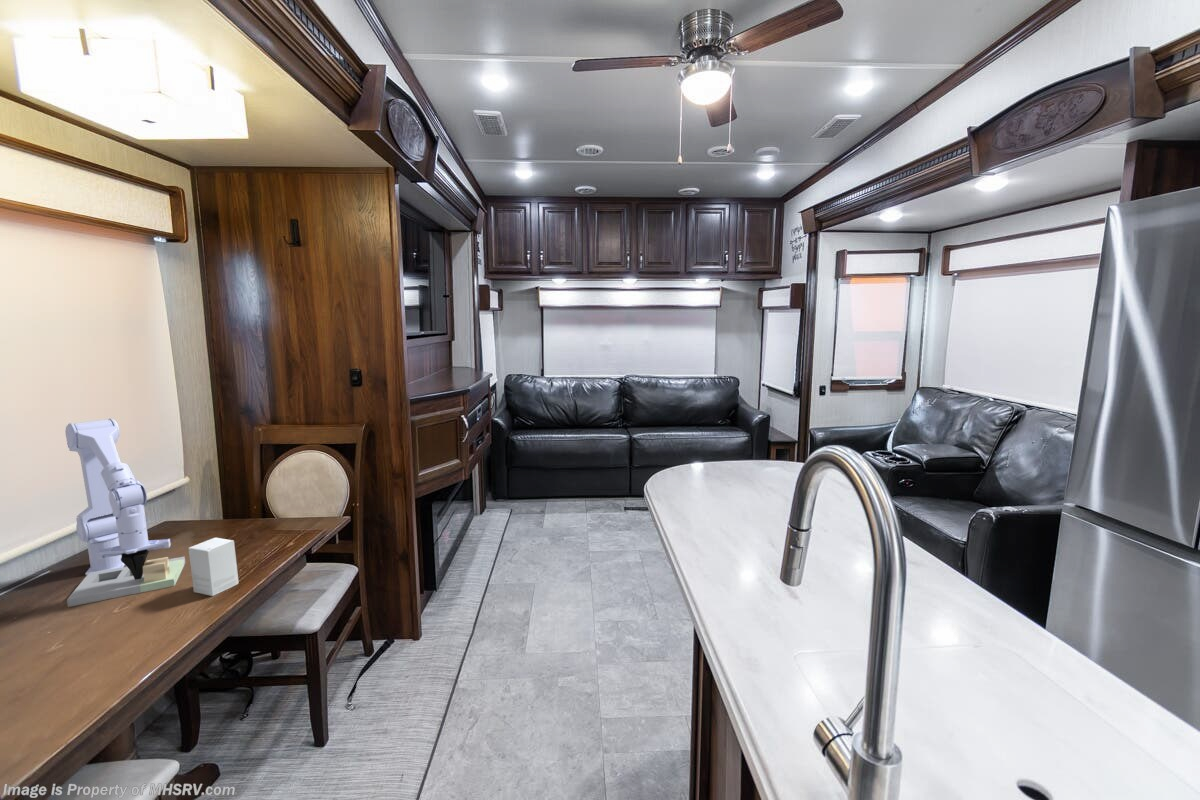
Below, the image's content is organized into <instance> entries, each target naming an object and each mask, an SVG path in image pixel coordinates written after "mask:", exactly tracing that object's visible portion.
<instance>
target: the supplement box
mask: <svg viewBox="0 0 1200 800" xmlns="http://www.w3.org/2000/svg"><path fill="white" fill-rule="evenodd" d="M188 555H189V562H190V563H189V564H190V570H191V571H190V572H191V578H192V586H193V593H197V594H202V595H205V596H210V597H214V596H216V595H218V594H220V593H223V592H224V591H226V590H228V589H231V588H233V587H235V586H237V585H239V574H238V565H237V556H236V548H235V540H233V539H226V538H220V537H213V538H210V539H207V540H204V541H203V542H200V543H198V544H194V545H193V546H189V547H188Z"/></svg>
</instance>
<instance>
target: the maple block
mask: <svg viewBox="0 0 1200 800" xmlns="http://www.w3.org/2000/svg"><path fill="white" fill-rule="evenodd" d="M168 559H169V556H165V557H158V558H153V559H149V560H148V559H147V560H145V563H144V566H143V575H144V583H147V582H152V581H158V580H163V579H166V578H167V576H168V575H169V573H170V569H169V561H168Z"/></svg>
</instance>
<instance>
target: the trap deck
mask: <svg viewBox="0 0 1200 800" xmlns="http://www.w3.org/2000/svg"><path fill="white" fill-rule="evenodd" d="M168 561H169V569H170V573H169V575H168V576H167V578H166V579H163V580H158V581H152V582H147V583H144V575H143V576H142V578H141V579H137V580H135V579H134V576H133V574H132V573H131V571H130V570H129V568H128V567H127V566H124V567H122V568H116V569H111V570H105V571H99V572H94V573H89V574H88V575H85V577H84V578H83V580H82V581H80V583H79V584H78V586H77V587H76V588H75V589H74V590H73V592H72V593H71V594H70V595H69V597H67V599H66V603H67V607H68V608H70V607H74V606H76V607H77V606H80V605H81V606H82V605H85V604H86V605H87V604H91V603H95V602H96V603H97V602H100V601H105V600H111V599H115V598H121V597H126V596H131V595H135V594H141V593H145V592H150V591H155V590H161V589H166V588H171V587H175V586H176V583H177V582H178V580H179V578H180V576H181V573H182V571H183V569H184V567H185V564H186V556H180V557H174V558H168Z"/></svg>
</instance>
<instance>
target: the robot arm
mask: <svg viewBox="0 0 1200 800" xmlns="http://www.w3.org/2000/svg"><path fill="white" fill-rule="evenodd" d="M64 434H65V437H66V444H67V448H68V451H70V452H75V453H76V452H77V454H78V456H79V460H80V464H81V470H82V476H83V477H82V478H83V483H84V487H85V489H84V490H85V495H86V499H87V500H86V501H87V507H86V508H85V509H84V510H82V511H81V512H80V513H79V514H77V516H76V519H75V520H76V526H75V528H76V533H77V537H78V539H79V540H80V541H81V542H83V543H86V545H87V551H88V556H89V557H88V558H89V565H90V567H89V568H88V570H87V571H86V572H85V573H84V574H85V576H87V575H88V574H89V573H94V572H99V571H105V570H111V569H116V568H122V567H128V568H129V570H130V571H131V573H132V574H133V576H134V579H135V580H137V579H141V578H142V576H143V566H144V564H145V563H146V561H147V560H146V559H147V557H148V555H149V552H150V551H152V550H154V551H155V550H158V549H170V547H171V545H172V543H171V538H166V539H164V538H163V539H154V540H153V539H151V540H149V536H148V534H149V533H148V527H147V522H146V521H147V520H146V514H145V504H146V503H147V500H148V494H147V491H146V488H145V485H144V484H143V483H142V482H140V480H138V479H137V480H136V478H135V475H134V474H133V472H132V469H131V468H130V466H129V465H128V463H125V462H121V458H120V456H119V455H120V454H119V453H118V450H117V446H116V444H117V443H118V439H119V437H120V427H119V424H118V422H117V420H115V419H114V418H108V419H100V420H91V421H83V422H74V423H73V422H69V423H68V424H66V426H65V433H64Z"/></svg>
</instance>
